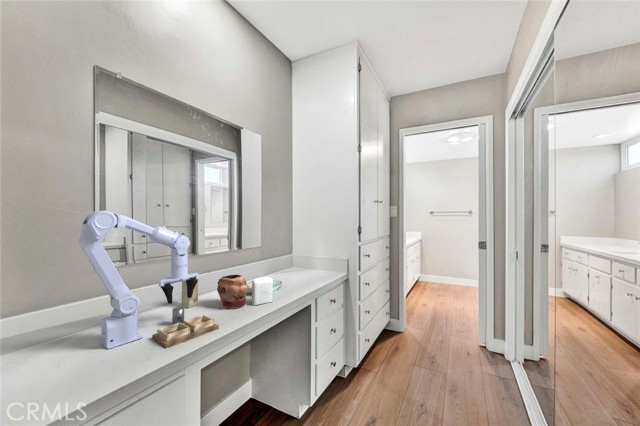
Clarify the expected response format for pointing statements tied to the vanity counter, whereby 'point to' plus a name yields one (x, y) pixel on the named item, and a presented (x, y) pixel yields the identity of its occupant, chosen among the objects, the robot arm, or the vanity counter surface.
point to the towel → (276, 286)
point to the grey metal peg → (178, 315)
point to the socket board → (184, 331)
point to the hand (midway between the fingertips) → (180, 300)
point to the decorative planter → (232, 291)
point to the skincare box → (187, 301)
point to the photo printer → (262, 290)
